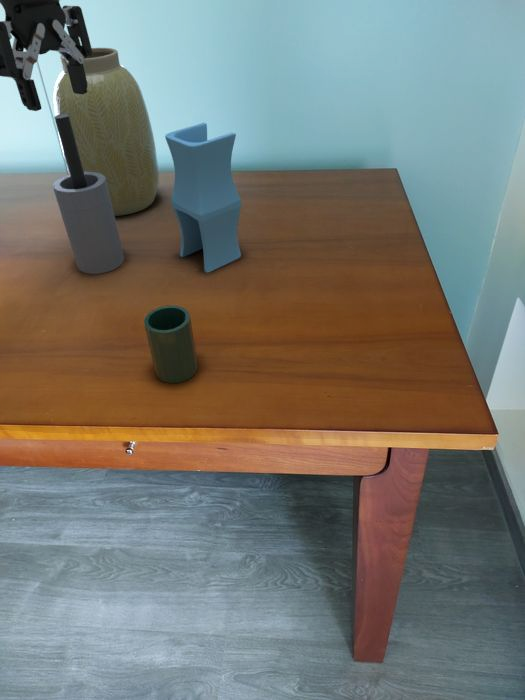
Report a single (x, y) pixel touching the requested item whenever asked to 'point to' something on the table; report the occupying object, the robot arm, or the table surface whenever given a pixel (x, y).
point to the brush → (70, 150)
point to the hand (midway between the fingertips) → (58, 101)
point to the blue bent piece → (205, 195)
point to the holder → (171, 343)
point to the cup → (90, 223)
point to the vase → (112, 130)
